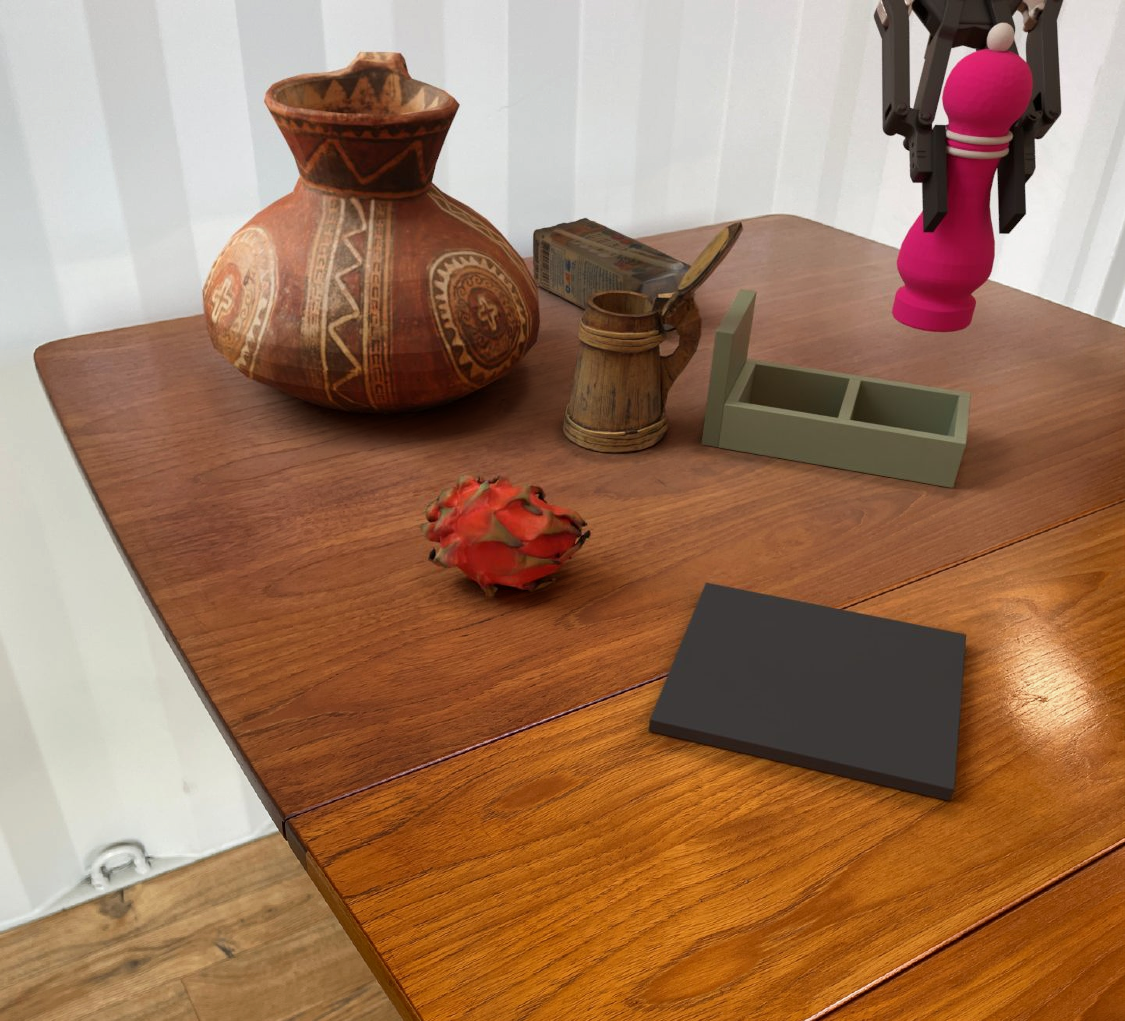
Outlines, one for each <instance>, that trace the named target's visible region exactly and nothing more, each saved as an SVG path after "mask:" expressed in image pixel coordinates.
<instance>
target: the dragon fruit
mask: <svg viewBox="0 0 1125 1021" xmlns="http://www.w3.org/2000/svg"><path fill="white" fill-rule="evenodd" d="M477 475H478V477H477V480H476V479H475V478H474V477H473V476H472V475H470V474H463V475H461V476H459V477H457V481H458V482H457V481H456V483H455V485H456V486H452V487H447V488H444V489H442V490H441V492H440V495H439V496H438V497H437V498H436V499H435V500H433V501H431V502H429V503H427V504H426V509H425V518H426V521H427V522H424V523H421V524H420V525H419V527H420V530H421V532H422V534H423V536H424V538H425V539H426V540H427V541H429V542H430V543H431V542H432V543H438V544H440V547H439V550H438V552H437V549H436V548H435V547H433V548H432V549H431V551H429V553H428V557H427V558H428V559H427V560H428V562H431V563H432V564H434V565H436V566H437V567H440V568H444V569H450V568H452V567H457V568H458V569H459V570H460V571H461V572H462V573H463V574H464V575H466V577H467V579H468V580H469V581H474V582H476V583H477V584H478V585H479V586H480V589H481V590H482V591H484V593H485V594H484V596H485V597H494V596H495V593H496V592H497V590H498V587H497V586H495V585H501V586H507V587H514V588H517V589H519V590H521V591H522V590H523V591H524V590H528V591H529V592H534V591H536V590H540V589H543V588H545V587H547V586H549V585H551V584H554V583H555V581H557V578H555V577H552V576H551V577H546V576H548V575H551V574H553V573H556V572H557V571H558V570H559V569H560V568H561V567H562V566H563V565H564V564H565V563H566V561H568V560H572V556H574V555H575V554H576V553H577V552H578V551H580V550H581V548H582V547H583V545H584V544H585V543H586V541H587V539H590V537H591V531H590V530H589V529H588V530H587V531H585V532H584V533H582V531H583V530H582V529H583V527H586V526H588V523H587V522H586V520H585V519H583V517H582V516H581V514H580V513H579V512H578V511H575V510H573V509H572V508H569V507H565V506H561V505H560V506H559V505H555V504H548V501H546V500H545V498H546V496H547V495H546V493H545V491H544V488H543V487H541V486H540V485H533V484H531V485H529V484H527V483H522V484H520V485H518V486H516V487H514V486H513V485H512V484H511V481H510V477H509V476H507V475H500V474H499V475H496V476H495V477H493V478H492V480H490V479H487V480H486V479H485V477H484V476H483V475H482V474H481V473H478V474H477ZM537 495H538V496H537ZM577 539H578V540H577Z"/></svg>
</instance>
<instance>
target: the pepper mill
mask: <svg viewBox="0 0 1125 1021" xmlns="http://www.w3.org/2000/svg"><path fill="white" fill-rule="evenodd" d="M1014 39H1015V35H1014V30H1013V28H1012V26H1011V25H1009V24H1007V23H999V24H997V25H995V26H994V27H993V28H992V29H991V30H990V32H989V34H988V37H987V45H988V48H989V49H983V50H979V51H976V50H975V51H973V52H970V53H969V54H968V55H965V56H964V57H962V58H961V59H960V60H959V61H957V63H956V64H955V66H953V68H952V69H951V70H950V72H949V74H948V76H947V78H946V81H945V83H944V86H943V88H942V89H943V90H942V95H941V101H942V107H943V111H944V112H945V115H946V117H947V121H948V124H944V125H945V129H946V167H947V204H948V213H947V214H946V216H945V217H944V218H943V220H942V221H941V222H940V224H939V225H938V227H937V228H936V229H935V231H934V232H933V233H929V232H923V210H921V212H920V213H919V215H918V216H917V217H916V219H915V220H914V222H913V223H912V225H911V226H910V228H909V230H908V231H907V233H906V235H905V237H904V238H903V240H902V242H901V244H900V247H899V248H900V249H899V250H898V255H897V258H896V269H897V272H898V274H899V276H900V279H901V281H902V283H903V284H904V285H902V286H901V287H899V288H898V289H897V290H896V291H895V296H894V300H893V304H892V308H891V314H892V317H893V318H894V319H895V320H896V321H897V322H898V323H900V324H902V325H904V326H906V327H909V328H911V329H915V330H919V331H925V332H931V333H955V332H958V331H963V330H965V329H966V328H967V327H969V326H970V325H971V323H972V320H973V316H974V312H975V309H976V307H977V306H976V305H977V300H976V298H975V297H974V295H973V293H974V292H976V290H978V289H979V288H980V287H982V286H983V285H984V284H985V283H986V282H987V281H988V279H989V278H990V277H991V274H992V272H993V268H994V262H995V257H996V241H995V233H994V226H993V222H992V212H991V194H992V188H993V184H994V178H995V175H996V173H997V167H998V164H999V162H1000V159H1001V157H1004V156H1006V155H1007V154H1008V152H1009V148H1008V146H1009V141H1011V140H1012V138H1013V134H1012V132H1011V131H1009V129H1010V127H1011V126H1012V124H1013V123H1014V122H1015V121H1017V120H1018V119H1019V118H1020V117H1021V116H1022V114H1023V113H1024V112H1025V110H1026V109H1027V107H1028V105H1029V102H1030V99H1031V94H1032V88H1033V81H1032V74H1031V70H1030V68H1029V66H1028V64H1027V63H1026V60H1024V58H1022V57H1021V56H1020V54H1019V55H1017V54H1015V53H1013V52H1010V51H1007V50H1008V49H1009V47H1010V46H1011V45H1012V43H1013V41H1014Z"/></svg>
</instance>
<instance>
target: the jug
mask: <svg viewBox="0 0 1125 1021" xmlns="http://www.w3.org/2000/svg"><path fill="white" fill-rule="evenodd" d="M263 103H264V104H265V105H266V108H267V110H268V112H269V114H270V115H271V116H272V118H273V120H274V123H275V124H276V126H277V128H278V130H279V131H280V133H281V135H282V137H283V138H284V140H285V142H286V144H287V146H288V148H289V150H290V152H291V154H292V156H293V158H294V161H295V164H296V168H297V171H298V174H299V176H298V178H297V181H296V183H295V185H294V188H293V190H292V191H291V192H289V193H287V194H285V195H284V196H282V197H280V198H278V199H277V200H275V201H273V202H272V203H270V204H269V205H267V206H266V207H264V208H263V209H261V210H260V211H258V212H257V213H256V214H255V215H254V216H253V217H251V219H249V220H248V221H247V222H246V223H245V224H244V225H243V226H241V227H240V228H239V229H237V231H235V233H234V234H232V236H231V237H230V239H229V240H228V241H227V243H226V244H225V245H224V247H223V248H222V250H221V251H220V253H218V255H217V257H216V258H215V259H214V261H213V262H212V265H211V268H210V270H209V272H208V275H207V277H206V280H205V282H204V285H203V289H202V290H201V291H202V292H201V293H202V310H203V315H204V320H205V327H206V330H207V333H208V336H209V338H210V341H211V343H212V346H213V348H214V350H216V351H217V352H218V353H219V354H220V355H221V356H222V357H223V358H224V359H226V360H227V362H229V363H230V364H231V365H232V366H233V367H234V368H236V369H237V371H239V372H240V373H241V374H242V375H244V376H245V377H246V378H247V379H249V380H252V381H255V382H257V383H260V384H263V385H264V386H267V387H270V388H272V389H274V390H277V391H279V392H282V393H284V394H288V395H290V396H291V397H292V396H293V397H294V398H297V399H299V400H302V401H305V402H308V403H311V404H314V405H317V406H320V407H323V408H325V409H331V410H338V411H342V412H348V413H349V412H350V413H360V414H376V415H377V414H378V415H386V414H404V413H405V414H406V413H407V414H409V413H417V412H421V411H425V410H430V409H433V408H437V407H442V406H445V405H448V404H450V403H453V402H455V401H457V400H459V399H461V398H464V397H466V396H467V395H470V394H472V393H474V392H476V391H479V390H481V389H482V388H484V387H486V386H488V385H490V384H492V383H493V382H495V381H498V380H500V379H502V378H504V377H506V376H508V375H509V374H510V373H511V372H512V371H513V370H514V369H515V367H516V366H517V365H518V364H519V363H520V362H521V360H522V359H523V358H524V357H525V356H526V355H527V354H528V353H529V351H530V350H531V349H532V347H534V345H535V344H536V343H537V342H538V336H539V330H540V326H541V317H540V316H541V315H540V300H539V292H538V285H537V284H536V283H535V281H534V276H532V273H531V272H530V270H529V268H528V266H527V264H526V262H525V261H524V259H523V257H522V256H521V254H519V252H518V251H517V250H516V249H515V248H514V247H513V245H512V244H511V243H510V242H509V241H508V240H507V238H506V237H505V236H504V235H503V233H502V232H501V231H500V230H499V229H497V227H496V226H495V225H493V223H492V222H490V220H488V218H486V217H485V216H483V215H482V214H481V213H479V212H478V211H476V210H475V209H474V208H472V207H470V206H469V205H467V204H465V203H464V202H462V201H460V200H458V199H456V198H454V197H453V196H451V195H449V194H448V193H446V192H444V191H442V190H441V189H440V188H439V187H438V186H437V185H436V184H435V183H433V179H434V175H435V170H436V166H437V163H438V159H439V157H440V155H441V152H442V148H443V146H444V145H445V142H446V139H447V136H448V133H449V131H450V129H451V126H452V124H453V122H454V120H455V118H456V115H457V113H458V110H459V109H460V106H461V104H460V103H459V101H457V99H456V98H455V97H454V96H453V95H451V94H450V93H448V92H447V91H446V90H444V89H442V88H440V87H436V86H434V85H433V84H432V85H431V84H429V83H427V82H423V81H421V80H418V79H415V78H412V77H411V75H410V73H409V70H408V66H407V61H406V58H405V57H404V56H403V54H402V53H401V52H394V51H393V52H392V51H359V52H358V54H357V55H356V56H355V57H354V58H353V60H351V62H350V63H349V64H348V65H347V66H346V67H344V68H340V69H336V70H332V71H322V72H310V73H301V74H297V75H294V76H290V77H286V78H283V79H281V80H278V81H276V82H274V83H272V84H271V85H270V87H269V88H268V89H267V90H266V91H265V94H264V100H263Z"/></svg>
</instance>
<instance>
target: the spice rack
mask: <svg viewBox="0 0 1125 1021" xmlns="http://www.w3.org/2000/svg"><path fill="white" fill-rule="evenodd" d="M757 294H758V293H757V291H756V290H749V289H742V288H740V289H739V291H738V293H737V294H736V295H735V297H734V299H733V301H732V302H731V304H730V306H729V308H728V310H727V311H726V312H725V315H724V316H723V318H722V320H721V321H720V323H719V325H718V327H717V328H716V330H715V334H714V343H713V348H712V349H713V351H712V359H711V366H710V373H709V382H708V390H707V397H706V405H705V414H704V421H703V422H704V423H703V430H702V439H701V445H702V446H707V447H713V448H718V449H724V450H730V451H735V452H742V453H747V454H753V455H757V456H758V455H759V456H764V457H771V458H775V459H776V458H777V459H781V460H787V461H793V462H799V463H805V464H811V465H818V466H824V467H828V468H834V469H839V470H847V471H851V472H858V473H863V474H869V475H874V476H881V477H887V478H891V479H898V480H904V481H909V482H915V483H921V484H927V485H931V486H939V487H944V488H949V489H953V488H954V486H955V482H956V480H957V476H958V473H959V470H960V466H961V463H962V459H963V457H964V454H965V450H966V446H967V439H968V431H969V430H968V429H969V420H970V409H971V398H972V392H967V391H961V390H955V389H948V388H943V387H942V388H941V387H935V386H930V385H929V386H928V385H924V384H923V385H921V384H915V383H911V382H910V383H909V382H902V381H896V380H890V379H885V378H884V379H883V378H877V377H871V376H863V375H858V374H850V373H845V372H837V371H832V370H825V369H818V368H813V367H805V366H799V365H792V364H788V363H787V364H786V363H781V362H773V361H766V360H761V359H753V358H748V353H749V345H750V341H751V333H752V328H753V327H752V326H753V319H754V314H755V307H756V301H757V300H756V299H757Z"/></svg>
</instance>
